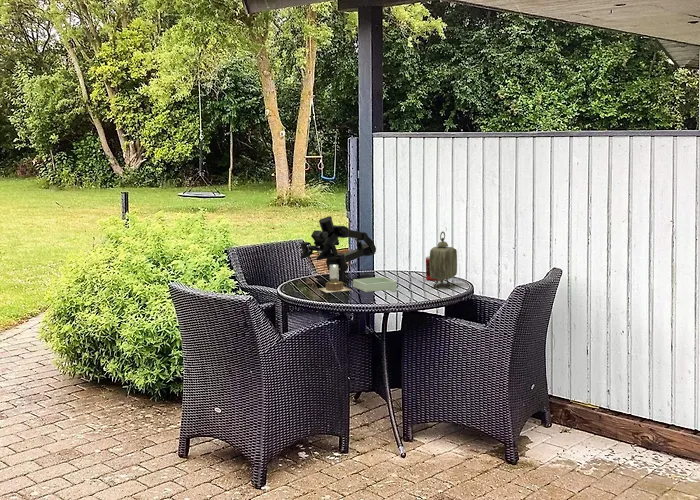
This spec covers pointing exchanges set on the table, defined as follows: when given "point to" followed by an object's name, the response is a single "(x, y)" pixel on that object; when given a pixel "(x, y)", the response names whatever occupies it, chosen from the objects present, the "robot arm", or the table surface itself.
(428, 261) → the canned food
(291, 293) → the table surface
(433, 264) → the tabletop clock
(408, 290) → the table surface
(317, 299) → the table surface
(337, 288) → the socket block
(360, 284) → the bin
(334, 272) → the spice shaker
